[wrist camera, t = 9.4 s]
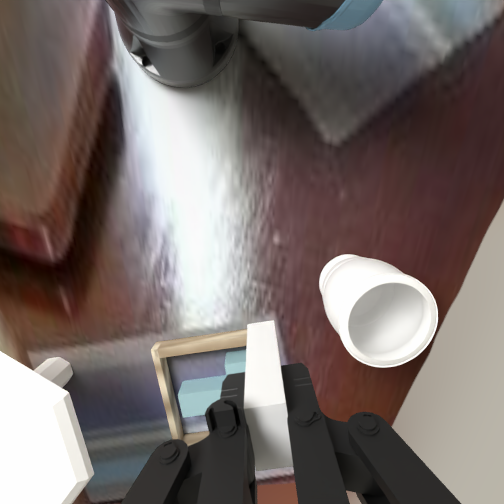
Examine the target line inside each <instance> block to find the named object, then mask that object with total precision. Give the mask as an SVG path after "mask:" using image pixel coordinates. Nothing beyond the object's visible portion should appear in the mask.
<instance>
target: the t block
mask: <svg viewBox="0 0 504 504" xmlns="http://www.w3.org/2000/svg"><path fill="white" fill-rule="evenodd" d="M225 370H226V375H223V376H216V377H209V378H202V379H195V380H188V381H183V382H182V385H181V388H180V390H179V393H178V399H179V403H180V407H181V412H182V416H183V418H184V417H191V416H199V415H205V412H206V410H207V408H208V407H209V406H210V405H211V404H212V403H213V402H215V401H217V400H219V399H220V395H221V388H222V382H223V381H224V379H225V378H226V376H227V375H228V374H234V373H241V372H245V370H246V350H240V351H233V352H226V358H225Z"/></svg>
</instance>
